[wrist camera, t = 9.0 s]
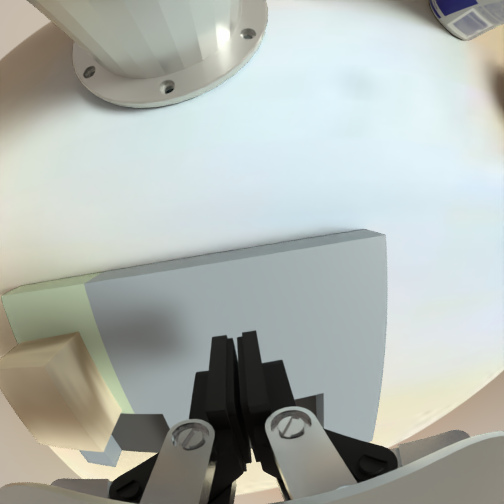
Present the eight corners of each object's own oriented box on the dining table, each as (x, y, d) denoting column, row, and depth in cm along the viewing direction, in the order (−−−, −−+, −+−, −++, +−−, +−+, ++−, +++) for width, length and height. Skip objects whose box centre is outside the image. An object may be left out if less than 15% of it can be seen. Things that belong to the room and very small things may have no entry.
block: (21, 341, 13) (-12, 369, 9) (78, 331, 13) (44, 366, 10) (61, 410, 15) (39, 443, 11) (122, 410, 15) (103, 452, 11)
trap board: (20, 285, 15) (0, 296, 13) (365, 229, 16) (385, 234, 13) (96, 444, 18) (88, 462, 16) (361, 421, 19) (372, 440, 17)
